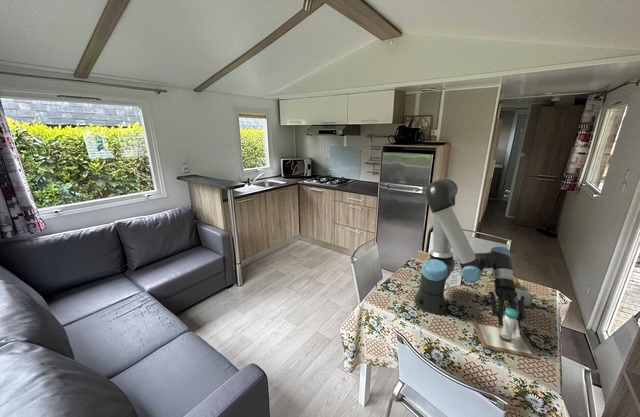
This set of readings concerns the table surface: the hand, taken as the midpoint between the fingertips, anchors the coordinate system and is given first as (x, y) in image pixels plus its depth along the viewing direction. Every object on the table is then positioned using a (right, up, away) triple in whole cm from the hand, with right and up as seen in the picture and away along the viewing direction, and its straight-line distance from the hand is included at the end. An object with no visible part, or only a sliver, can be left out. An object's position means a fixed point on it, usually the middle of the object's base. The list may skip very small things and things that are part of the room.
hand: (511, 335), depth 106 cm
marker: (+1, -3, +5) cm, 6 cm away
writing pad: (+1, -4, +6) cm, 7 cm away
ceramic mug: (+28, +3, +31) cm, 42 cm away
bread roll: (+32, +7, +45) cm, 56 cm away
